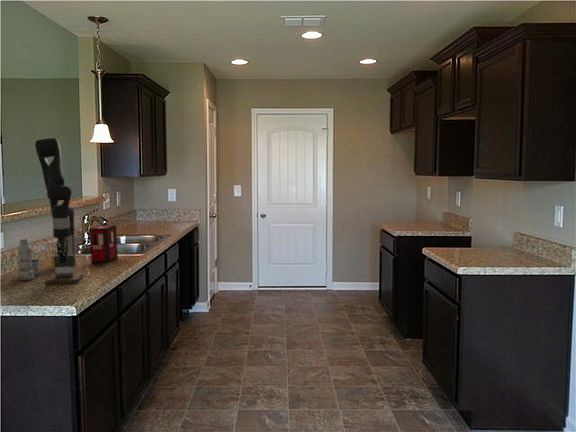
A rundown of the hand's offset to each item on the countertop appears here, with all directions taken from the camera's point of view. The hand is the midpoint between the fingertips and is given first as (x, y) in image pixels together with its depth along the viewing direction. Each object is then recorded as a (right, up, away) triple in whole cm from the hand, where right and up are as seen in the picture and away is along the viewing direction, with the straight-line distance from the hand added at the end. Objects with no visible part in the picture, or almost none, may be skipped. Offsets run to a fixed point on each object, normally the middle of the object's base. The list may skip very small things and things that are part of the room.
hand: (63, 262), depth 239 cm
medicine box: (-23, -9, +12) cm, 27 cm away
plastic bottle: (-20, -9, +5) cm, 23 cm away
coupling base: (0, -9, +1) cm, 9 cm away
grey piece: (0, -7, +1) cm, 7 cm away
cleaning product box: (+1, -4, +52) cm, 52 cm away
